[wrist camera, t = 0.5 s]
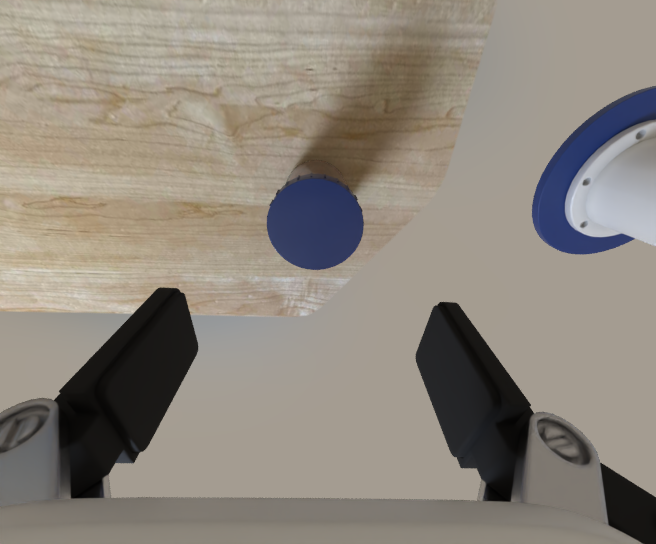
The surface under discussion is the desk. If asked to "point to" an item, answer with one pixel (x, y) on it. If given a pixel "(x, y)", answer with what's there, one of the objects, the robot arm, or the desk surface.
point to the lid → (315, 221)
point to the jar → (316, 170)
